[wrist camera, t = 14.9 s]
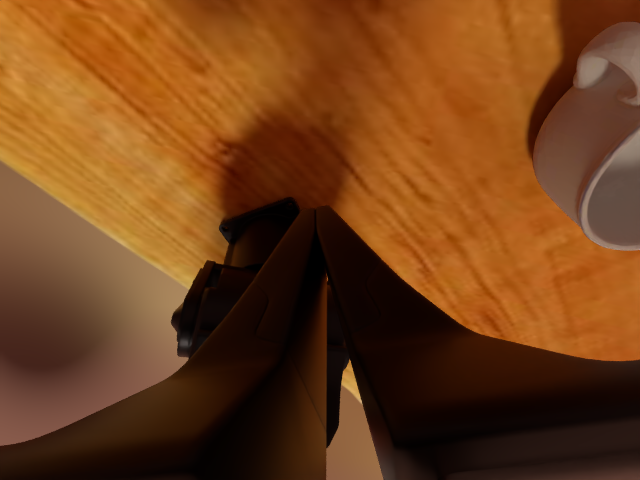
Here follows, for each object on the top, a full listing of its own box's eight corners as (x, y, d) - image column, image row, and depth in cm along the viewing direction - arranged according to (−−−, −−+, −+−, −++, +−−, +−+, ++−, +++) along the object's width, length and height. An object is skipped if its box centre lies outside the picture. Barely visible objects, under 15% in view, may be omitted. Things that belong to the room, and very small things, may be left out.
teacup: (680, 134, 23) (831, 185, 16) (530, 215, 26) (605, 283, 20) (674, -82, 15) (938, -140, 9) (469, 71, 19) (555, 105, 13)
